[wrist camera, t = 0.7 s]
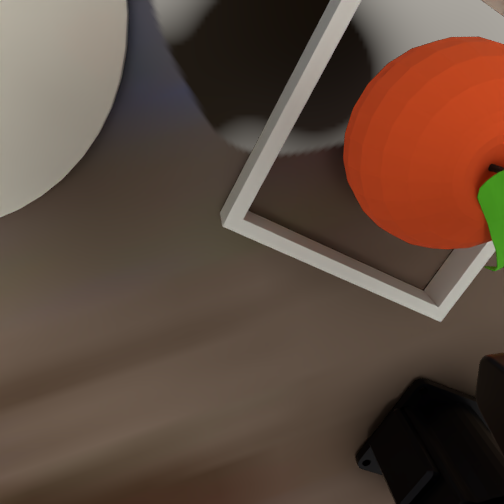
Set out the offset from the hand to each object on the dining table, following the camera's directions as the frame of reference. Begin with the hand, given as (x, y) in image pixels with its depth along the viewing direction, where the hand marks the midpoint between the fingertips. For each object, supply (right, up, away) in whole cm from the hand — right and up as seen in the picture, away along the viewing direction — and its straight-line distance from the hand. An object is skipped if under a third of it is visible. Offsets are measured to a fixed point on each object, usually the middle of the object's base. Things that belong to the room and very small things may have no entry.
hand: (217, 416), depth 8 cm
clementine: (+7, +7, +12) cm, 16 cm away
